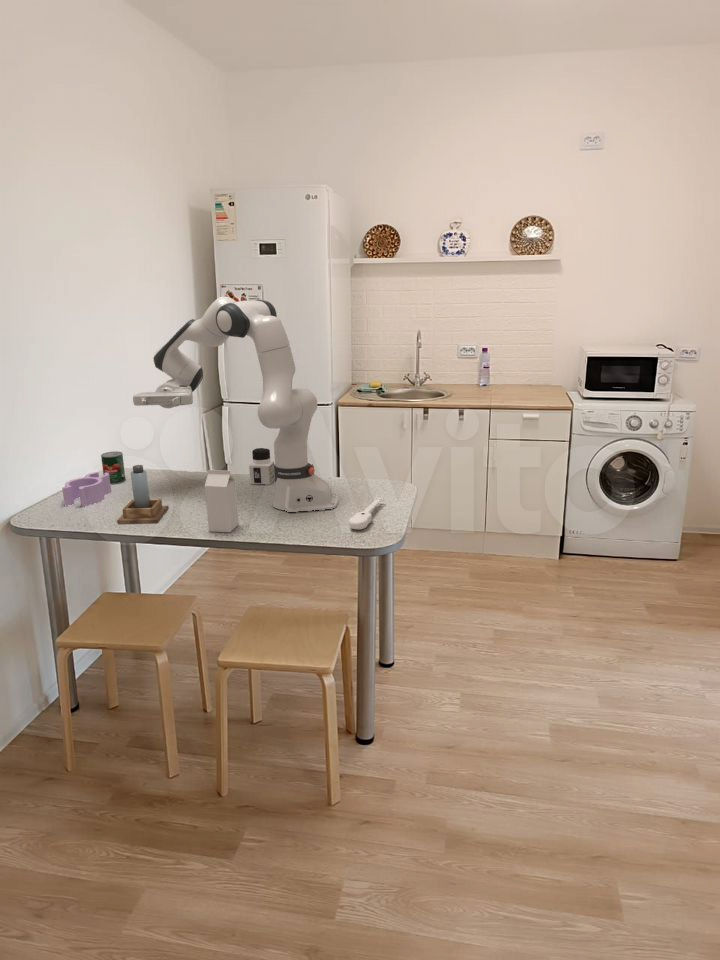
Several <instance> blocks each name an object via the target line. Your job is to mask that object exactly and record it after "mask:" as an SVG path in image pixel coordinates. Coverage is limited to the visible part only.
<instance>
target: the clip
mask: <svg viewBox="0 0 720 960" xmlns="http://www.w3.org/2000/svg"><path fill="white" fill-rule="evenodd" d="M111 485H112V484H110V477H109V473H107V472H106V473H104V474H103V475H102V476H100V473H99V472H98V471H97V472H96V471H95V472H90V473H88V474H86V475H85V476H83V477H79V478H75V479H71V480H69V481H66V482H65V483H64V486H63V487H62V496H63V502H64V506H65V505H66V506H68V505H72V504H74V505H75V500H76V498H77V499H80V505H81V508H83V507H84V508H86V507H87V506H90V505H89V504H92V505H95V504H94V503H96V504H98V502H99V503H101V502H103V501H104V500H105V496H106V495H108V494H110V493H112V486H111ZM79 497H80V498H79ZM102 500H103V501H102ZM86 505H87V506H86ZM72 506H73V505H72ZM85 506H86V507H85ZM68 507H69V506H68Z"/></svg>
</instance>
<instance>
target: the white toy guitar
mask: <svg viewBox="0 0 720 960" xmlns="http://www.w3.org/2000/svg"><path fill="white" fill-rule="evenodd" d="M383 501H384V497H375V498H374V499H373V501H372V502H371V503H370V504H369V505H368V506H367V507H366V508H365V509H364V510H363V511H358V512H356V513H355V514H354V515H353V516H351V517H350V518H349V520H348V525H349V528H350V529H352V530H358V531H359V530H363V529H365V528H367V527H368V526H369V524H371V523H372V513H371V511H373V509H374V508H375V507H376V506H377V505H379V503H381V502H383Z"/></svg>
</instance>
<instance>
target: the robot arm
mask: <svg viewBox="0 0 720 960" xmlns="http://www.w3.org/2000/svg"><path fill="white" fill-rule="evenodd" d="M246 336H247V337H250V338H251V339H252V340H253V343H254V347H255V350H256V354H257V355H256V356H257V358H258V363H259V368H260V371H261V377H262V397H261V401H260V403H259V405H258V408H257V417H258V420H259V421H260V424H262V425H263V426H264V427H265V428H268V429H276V430H277V429H279V431H278V434H277V436H276V437H275V439H274V442H273V453H274V479H275V480H274V482H275V485H274V495H273V497H274V498H273V501H272V507H274V508H275V509H277V510H282V511H284V510H285V512H286V511H287V512H286V513H288V512H296V513H299V512H298V511H308V512H316V511H315V510H319V511H326V510H325V509H331V510H334V509H335V508H336V506H338V505H339V498H338V496H337V495H335V494H332V490H331V489H332V488H331V487H330V485H329V483H328V482H327V481H326V480H324V479H323V478H321V477H319V476H318V475H316V474H315V466H314V464H313V463H312V464H311V463H309V462H308V439H309V432H310V427H311V422H312V419H313V417H314V414H315V413H316V411H317V409H318V400H317V396H316V395H315V393H314V392H313V391H311V390H310V389H308V388H307V389H306V388H293V378H294V375H295V373H296V364H295V361H294V356H293V353H292V349H291V348H292V347H291V345H290V341H289V338H288V335H287V332H286V329H285V327H284V325H283V323H282V321H281V319H280V318H279V317H278V315H277V311H276V308H275V307H274V305H273V303H271V302H269V301H267V300H263V299H255V300H241V301H240V300H239V301H236V300H235V299H233V298H232V297H229V296H219V297H217V298H216V299H215V300H214V301H213V302H212V303H211V304H210V305H209V306H208V308H207V309H206V310H205V312H204V314H203V315H202V317H200V318H199V319H193V318H192V319H190V320H187V321H186V323H185V324H183V326H182V327H181V328H180V329H178V330H177V331H176V333H175V334H174V335H173V336H172V337H171V338H170V339H169V340H168V341H167V342H166V343H165V344H164V345H162V346H160V347H159V349H158V350H156V352H155V354H154V356H153V363H154V367H155V368H156V369H158V370H159V371H160V372H163V373H164V374H166V375H167V376H169V378H171V379H168V380H167V381H165V382H164V383H162V384H160V385H158V386H157V388H156V389H155V391H143V392H138V393H136V394H133V396H132V402H133V405H134V406H137V407H138V406H139V407H141V406H160V407H162V408H163V409H172V408H177V407H180V406H189V405H190V406H191V405H193V404H194V400H193V398H194V396H193V393H194V392H195V390H196V389H197V388H198V387H199V385H201V382H202V381H203V378H204V370H203V367H202V366H200V365H199V364H198V363H197V362H195V361H194V360H192V358H190V357H188V356H187V355H186V354H184V353H183V352H182V351H181V350H180V349H179V347H180V346H181V345H182V344H183V343H184V342H185V341H189V342H190V341H191V342H194V343H197V344H199V345H201V346H204V347H210V348H214V347H220V346H222V345H223V344H224V343H226V341H227V340H228V339H229V338H230V337H234V338H241V339H243V338H245V337H246ZM333 508H334V509H333ZM312 510H314V511H312Z"/></svg>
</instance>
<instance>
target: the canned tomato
mask: <svg viewBox="0 0 720 960" xmlns="http://www.w3.org/2000/svg"><path fill="white" fill-rule="evenodd" d="M123 454H124V453H123V452H122V451H108V452H103V453H101V454H100V457H101V458H100V459H101V465H102V473H103V474H102V475H104V473H106V472H107V473H109V477H110V485H118V484H123V483H124V482H126V473H125V472H126V471H125V463H124V455H123Z"/></svg>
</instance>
